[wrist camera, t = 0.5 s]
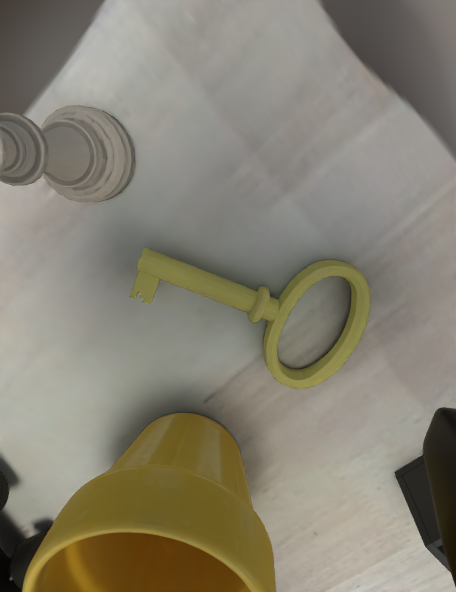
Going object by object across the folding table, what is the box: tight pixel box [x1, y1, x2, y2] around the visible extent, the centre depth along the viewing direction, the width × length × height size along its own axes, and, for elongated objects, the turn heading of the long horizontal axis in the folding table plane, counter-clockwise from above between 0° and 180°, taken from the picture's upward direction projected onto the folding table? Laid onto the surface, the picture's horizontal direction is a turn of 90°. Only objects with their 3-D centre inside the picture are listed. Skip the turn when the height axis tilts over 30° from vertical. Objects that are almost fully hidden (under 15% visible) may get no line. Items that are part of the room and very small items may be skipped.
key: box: [130, 248, 370, 389], centre depth 21 cm, size 7×12×2 cm, turn 86°
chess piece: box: [0, 106, 135, 202], centre depth 16 cm, size 4×4×10 cm
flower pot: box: [22, 413, 276, 592], centre depth 21 cm, size 10×10×10 cm
